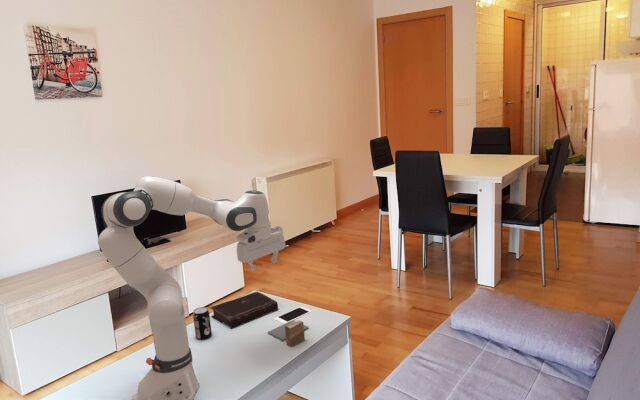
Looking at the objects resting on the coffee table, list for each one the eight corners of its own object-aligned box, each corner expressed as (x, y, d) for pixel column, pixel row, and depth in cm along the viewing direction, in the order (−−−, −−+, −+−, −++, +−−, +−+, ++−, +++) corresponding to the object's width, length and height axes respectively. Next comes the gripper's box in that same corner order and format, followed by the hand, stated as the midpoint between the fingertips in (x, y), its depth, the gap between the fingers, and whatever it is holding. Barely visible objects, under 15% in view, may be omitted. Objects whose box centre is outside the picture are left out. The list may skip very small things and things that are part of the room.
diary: (278, 311, 234) (278, 301, 233) (231, 331, 219) (230, 320, 218) (256, 299, 248) (255, 289, 247) (210, 317, 233) (209, 306, 232)
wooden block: (304, 340, 205) (303, 321, 204) (291, 347, 201) (289, 328, 199) (299, 337, 208) (298, 319, 206) (286, 344, 203) (284, 325, 201)
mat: (282, 341, 206) (282, 339, 205) (267, 333, 213) (267, 331, 213) (308, 328, 215) (308, 326, 214) (293, 321, 222) (293, 319, 222)
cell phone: (273, 319, 226) (273, 318, 226) (301, 307, 236) (301, 306, 236) (284, 325, 220) (284, 323, 220) (312, 312, 231) (312, 310, 230)
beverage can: (213, 332, 217) (210, 306, 214) (209, 340, 211) (205, 313, 208) (198, 332, 218) (195, 306, 215) (193, 340, 211) (190, 313, 209)
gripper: (276, 223, 202) (280, 256, 206) (232, 238, 190) (237, 272, 193) (286, 226, 197) (290, 259, 201) (241, 241, 185) (246, 276, 188)
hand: (264, 266), depth 197 cm, fingers open, 8 cm apart
